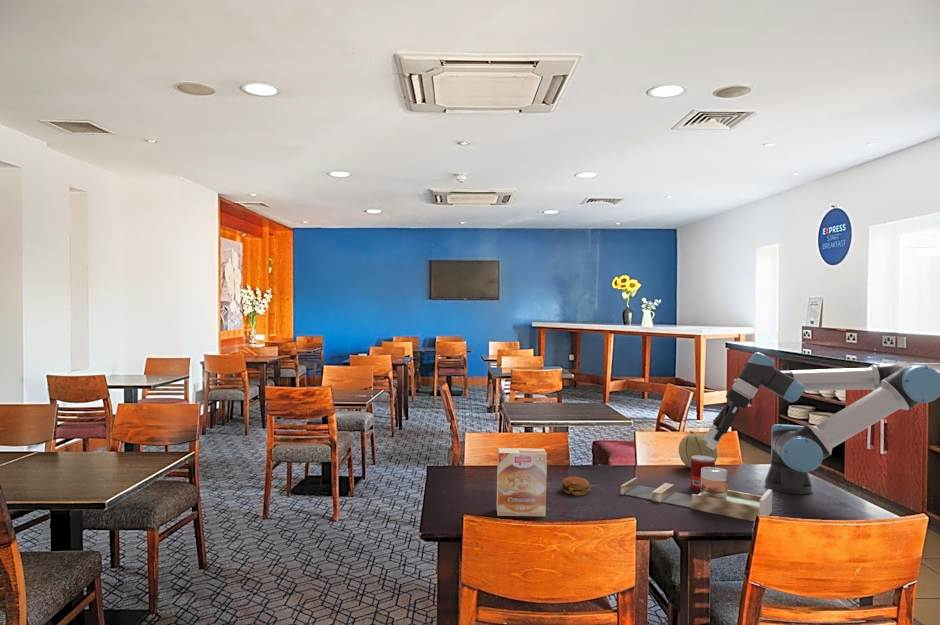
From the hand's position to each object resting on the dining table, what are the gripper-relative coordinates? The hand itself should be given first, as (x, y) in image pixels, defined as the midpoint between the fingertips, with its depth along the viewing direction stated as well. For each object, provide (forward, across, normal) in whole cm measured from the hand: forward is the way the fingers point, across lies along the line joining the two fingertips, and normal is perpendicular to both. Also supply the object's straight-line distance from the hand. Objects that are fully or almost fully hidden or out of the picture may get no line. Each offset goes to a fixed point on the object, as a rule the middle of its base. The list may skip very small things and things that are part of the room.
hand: (707, 444), depth 217 cm
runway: (+18, +14, +4) cm, 23 cm away
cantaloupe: (+14, -32, +7) cm, 36 cm away
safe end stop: (+10, +19, +17) cm, 28 cm away
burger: (+37, +14, -30) cm, 49 cm away
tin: (+12, +16, +8) cm, 22 cm away
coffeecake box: (+45, +42, -41) cm, 74 cm away
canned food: (+15, -5, +7) cm, 18 cm away
